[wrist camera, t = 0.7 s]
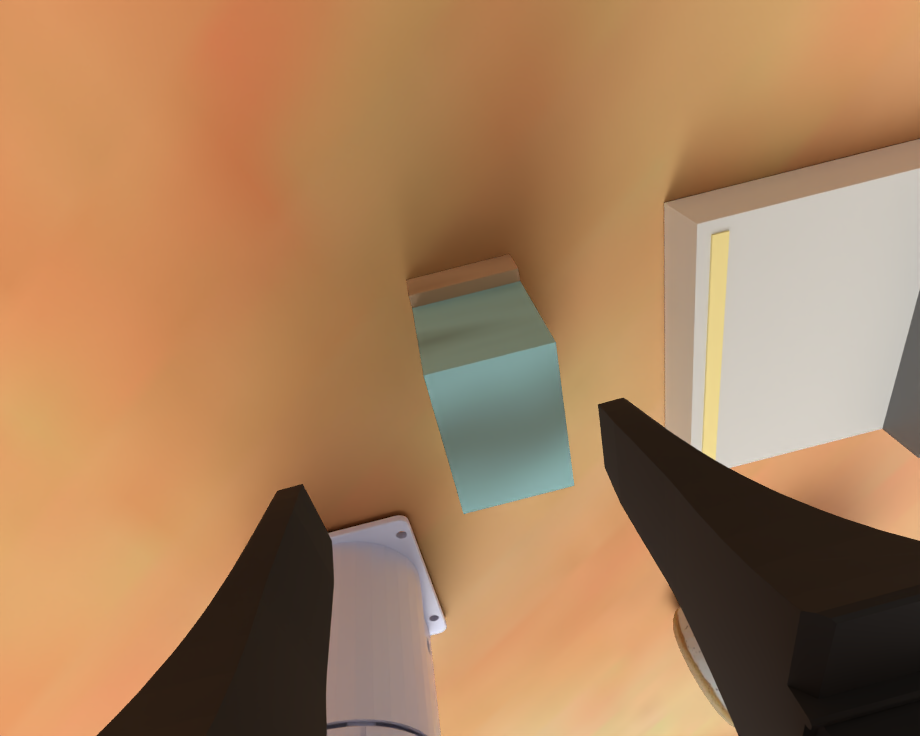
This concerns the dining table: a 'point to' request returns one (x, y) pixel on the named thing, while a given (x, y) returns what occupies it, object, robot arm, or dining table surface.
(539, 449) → the teal rectangular block
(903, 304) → the dock
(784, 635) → the robot arm
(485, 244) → the dining table surface
